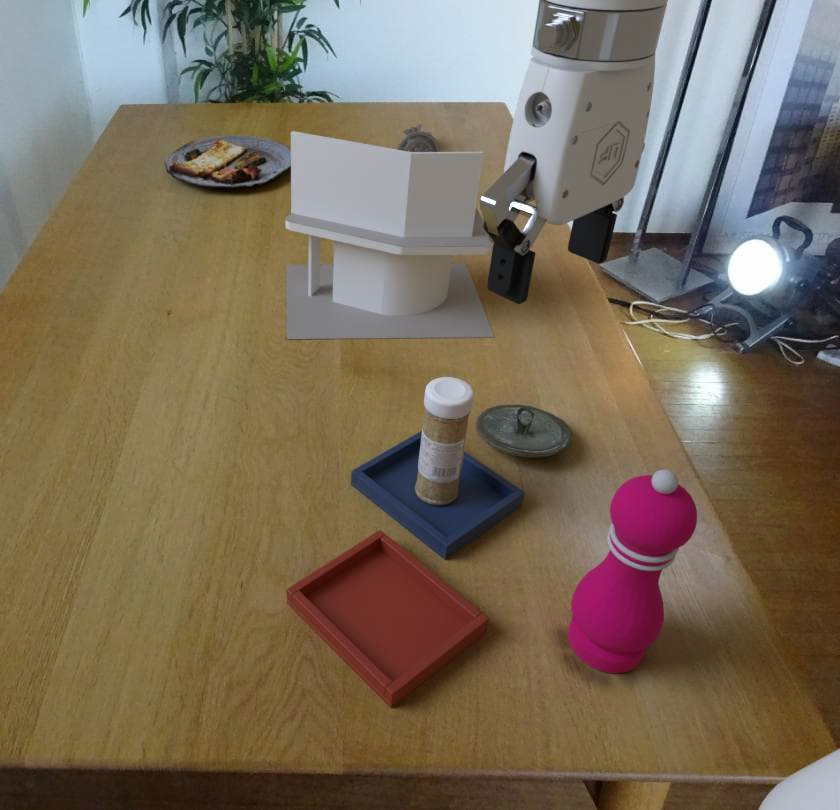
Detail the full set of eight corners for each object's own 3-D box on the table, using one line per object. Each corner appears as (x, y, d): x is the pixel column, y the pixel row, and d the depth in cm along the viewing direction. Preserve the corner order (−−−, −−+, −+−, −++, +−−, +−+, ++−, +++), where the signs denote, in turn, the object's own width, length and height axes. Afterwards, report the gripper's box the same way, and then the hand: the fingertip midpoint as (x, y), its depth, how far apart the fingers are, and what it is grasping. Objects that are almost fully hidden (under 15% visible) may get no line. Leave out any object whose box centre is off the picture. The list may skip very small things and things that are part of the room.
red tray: (485, 632, 71) (489, 618, 70) (390, 708, 65) (392, 694, 64) (379, 543, 79) (380, 529, 78) (286, 603, 74) (286, 588, 72)
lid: (503, 487, 88) (519, 461, 84) (455, 419, 93) (468, 391, 89) (577, 462, 91) (596, 435, 88) (528, 398, 97) (543, 370, 93)
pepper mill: (562, 669, 68) (618, 498, 56) (561, 602, 74) (612, 433, 61) (652, 687, 67) (731, 516, 54) (644, 617, 72) (714, 448, 60)
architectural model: (466, 263, 125) (487, 110, 111) (494, 337, 109) (523, 168, 94) (286, 264, 125) (284, 111, 111) (286, 339, 108) (284, 170, 94)
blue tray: (522, 506, 83) (525, 492, 82) (445, 560, 78) (447, 546, 76) (426, 440, 92) (428, 426, 90) (350, 484, 86) (351, 470, 85)
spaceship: (394, 166, 136) (440, 149, 134) (389, 120, 166) (426, 105, 164) (408, 209, 140) (453, 193, 138) (401, 156, 169) (438, 142, 167)
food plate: (243, 206, 142) (242, 187, 140) (141, 180, 152) (139, 161, 150) (315, 161, 159) (315, 143, 157) (219, 140, 169) (218, 123, 167)
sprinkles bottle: (459, 481, 85) (476, 378, 77) (455, 511, 82) (472, 407, 74) (417, 474, 86) (429, 371, 78) (410, 503, 83) (422, 399, 75)
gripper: (562, 67, 44) (514, 334, 54) (722, 21, 53) (655, 259, 63) (458, 42, 49) (432, 293, 59) (621, 4, 57) (574, 228, 68)
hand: (547, 275), depth 61 cm, fingers open, 9 cm apart
